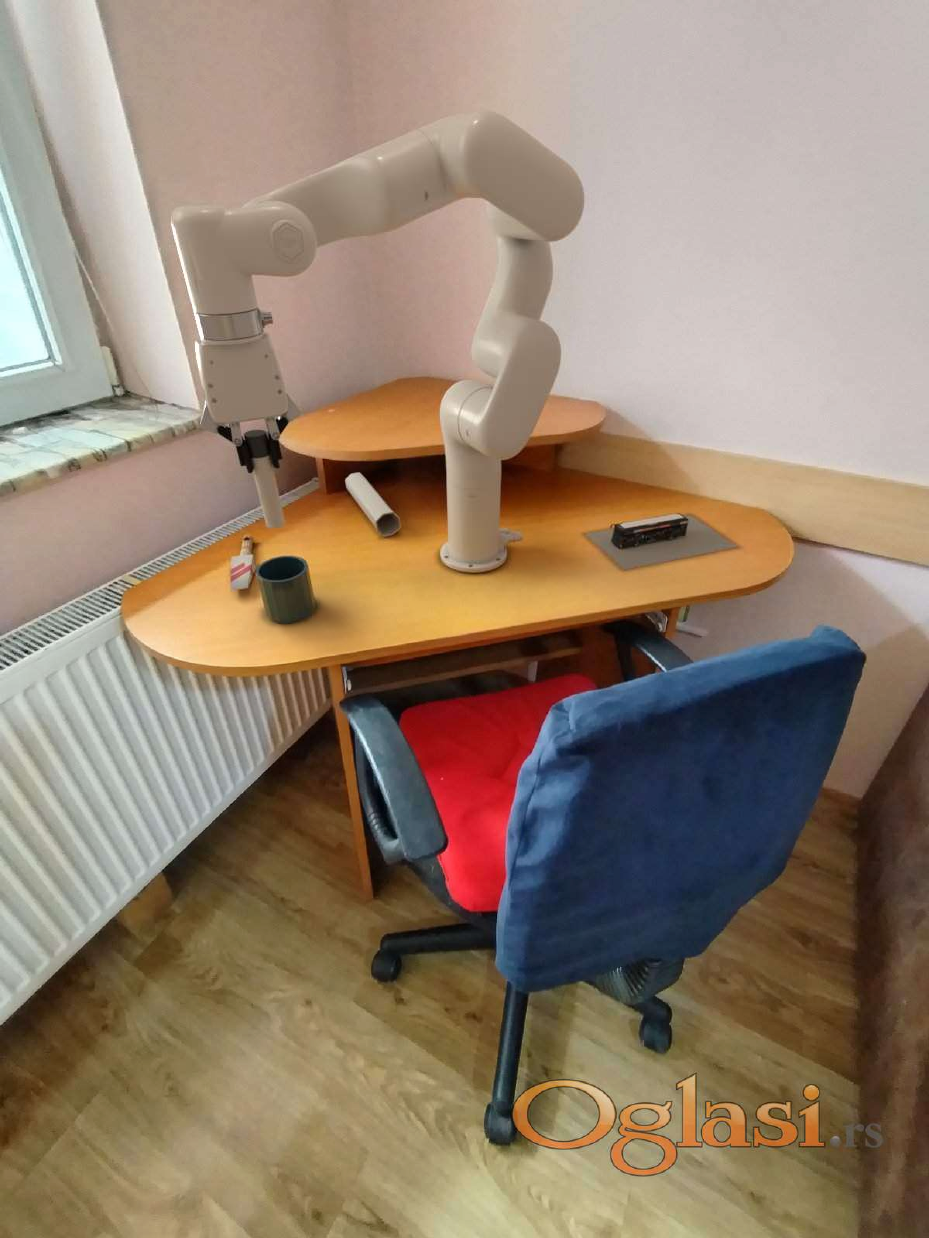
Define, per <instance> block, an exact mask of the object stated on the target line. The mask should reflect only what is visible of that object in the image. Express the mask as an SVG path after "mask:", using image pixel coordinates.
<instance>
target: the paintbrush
mask: <svg viewBox="0 0 929 1238" xmlns="http://www.w3.org/2000/svg"><path fill="white" fill-rule="evenodd" d="M241 542H242V543H241V548H240V553H239V555H236V556H235V555H233V556H231V557H230V591H235V590H243V589H248V588H249V586H250V583H251V582H252V579H253V576H254V574H255V573H256V572H255V571H256V569H257V565H256V563H255V559H254V554H252V549H253V544H254V543H253V542H254V537H253V536H252V535H251V534H245V535H243V537H242V541H241Z"/></svg>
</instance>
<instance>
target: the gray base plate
mask: <svg viewBox="0 0 929 1238" xmlns="http://www.w3.org/2000/svg"><path fill="white" fill-rule="evenodd" d="M613 526H614V527H613ZM609 528H611V529H606V530H602V531H596V532H590V533H586V534H585V535H586V536H587V537H588V538H589V539H591V540H592V541H593V542H594V543H595V544H596V545H597V546H598V548H600V549H601V550H602V551H603V552H605V554H606V555H608V556H609V557H610V558H611V559H612V560H613V561H614V562H615V563H616V564H617V565H618V566H620V567H621V569H622V570H630V569H635V568H636V569H637V568H640V567H645V566H651V565H655V564H660V563H664V562H670V561H671V562H672V561H675V560H680V559H685V558H690V557H695V556H700V555H705V554H710V553H714V552H715V553H716V552H719V551H725V550H730V549H735V548H738V546H737V545H736V544H734V543H733V542H731V540H728V539H727V538H725V537H724V536H723V535H721V534H720V533H719V532H717V531H716V530H714V529H712V528H711V527H709V526H708V525H707V524H705V523H704V522H702V521H701V520H699V518H697V517H695V516H694V515H692V514H691V515H683V513H682V514H681V513H680V512H676V513H670V514H665V515H659V516H653V517H649V518H641V519H636V520H631V521H624V522H620V523H611V524H610V527H609Z"/></svg>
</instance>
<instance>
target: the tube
mask: <svg viewBox="0 0 929 1238" xmlns="http://www.w3.org/2000/svg"><path fill="white" fill-rule="evenodd" d="M344 482H345V488H346V490H347V491H348V492H349V493H350V495H351V496H352V497H353V499H354V500H355V502H356V503H357V504H358V506H359V507H360V509H361V510H362V511H363V512H364V514H365V515H366V517H367V519H369V522H371V523H372V525H373V527H374V528H375V531H376V532H377V533H378V534H379V535H380V536H381V537H383V538H386V537H391V536H394V535H395V534H396V533H397V532H398V531H399V530H400V529H401V527H402V525H401V518H400V517H399V515H398V514H397V513H395V511H394V510H393V509H392V508H391V507H390V506H389V505H388V503H387V502H386V501H385V500H384V499H383V497H381V495H380V494H379V493H378V491H377V490H376V489H375V488H374V486H373V485H372V484H371V483H370V482H369V480H368V479H367V478H366V477H365V476H364V475H363V474H362V473H361V472H359V471H358V472H353V473H350V474H349V475H348V476H347V477H346V478H345V480H344Z"/></svg>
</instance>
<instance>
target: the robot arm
mask: <svg viewBox="0 0 929 1238" xmlns="http://www.w3.org/2000/svg"><path fill="white" fill-rule="evenodd" d="M468 198H469V199H483V200H484V201H485V203H484V205H485V213H486V216H487V220H488V222H489V225H490V227H491V229H492V232H493V235H494V238H495V242H496V246H497V247H496V248H497V255H498V256H497V259H498V260H497V261H498V262H497V263H498V264H497V270H496V273H495V277H494V280H493V284H492V286H491V290H490V292H489V294H488V297H487V300H486V303H485V306H484V308H483V311H482V314H481V317H480V319H479V322H478V324H477V327H476V330H475V332H474V335H473V338H472V341H471V346H470V347H471V348H470V355H471V359H472V362H473V363H474V365H475V366H476V367H477V369H479V370H480V371H481V372H483V373H484V374H486V375H488V376H490V377H492V378H494V379H496V380H495V382H494V385H493V386H492V385H489V384H487V383H485V382H482V381H479V380H476V379H463V380H460V381H457V382H455V383H454V384H452V385H450V386H449V388H448V389H447V390H446V391H445V393H444V395H443V397H442V399H441V402H440V405H439V406H440V407H439V425H440V431H441V436H442V440H443V446H444V454H445V470H446V471H445V472H446V510H447V512H446V513H447V541H446V542H445V543H443V545H441V547H440V550H439V554H440V555H439V558H440V560H441V562H442V563H443V564H444V565H445V566H446V567H448V568H450V569H452V570H455V571H458V572H461V573H468V574H469V573H470V574H474V573H486V572H490V571H493V570H496V569H497V568H499V567H500V566H502V565H504V563H505V562H506V560H507V557H508V550H507V546H508V545H509V544H510V543H518V542H521V541H523V537H524V536H523V532H522V531H521V530H517V531H511V529H510V528H509V527H506V528H501V529H500V527H501V525H500V524H501V523H500V522H501V490H502V489H501V488H502V461H507V460H510V459H512V458H514V457H515V456H517V455H518V454H519V453H521V452H522V450H523V449H524V448H525V446H526V445H527V443H528V442H529V440H530V438H531V437H532V434H533V433H534V430H535V428H536V426H537V424H538V421H539V419H540V417H541V415H542V412H543V410H544V408H545V405H546V403H547V401H548V398H549V396H550V394H551V392H552V389H553V386H554V384H555V382H556V379H557V377H558V373H559V371H560V368H561V367H560V366H561V360H562V345H561V341H560V337H559V336H558V334H557V332H556V330H554V328H553V327H552V326H551V325H549V324H548V323H546V322H544V321H543V320H541V318H542V315H543V313H544V310H545V306H546V303H547V301H548V298H549V295H550V292H551V289H552V284H553V277H554V262H553V255H552V249H551V245H550V243H551V242H552V243H553V242H558V241H560V240H563V239H565V238H566V237H568V236H570V235H571V234H572V233H573V232H574V231H575V229H576V228H577V226H579V223H580V221H581V219H582V216H583V213H584V208H585V190H584V187H583V184H582V181H581V179H580V176H579V174H578V173H577V172H576V171H575V169H574V168H573V167H572V165H570V164H569V163H568V162H567V161H565V160H564V159H563V158H562V157H560V156H559V155H558V154H557V153H555V152H554V151H553V150H551V149H549V148H548V147H547V146H546V145H544V144H543V143H542V142H540V141H539V140H538V139H536V138H535V137H534V136H533V135H531V134H530V133H529V132H528V131H526V130H524V129H523V128H522V127H520V125H518V124H516V123H515V122H513V121H512V120H511V119H509V118H508V117H506V116H504V115H502V114H500V113H499V112H495V111H492V110H491V109H481V110H475V111H469V112H463V113H457V114H453V115H448V116H445V117H443V118H439V119H438V120H436V121H433V122H431V123H428V124H426V125H424V126H422V127H419V128H417V129H414V130H412V131H410V132H407V133H404V134H403V135H401V136H398V137H396V138H394V139H391V140H390V141H386V142H384V143H382V144H380V145H377V146H375V147H372V148H370V149H367V150H364V151H362V152H361V153H357V154H355V155H353V156H351V157H348V158H346V159H344V160H342V161H340V162H338V163H336V164H334V165H332V166H330V167H328V168H325V169H323V170H320V171H318V172H316V173H313V174H310V175H308V176H305V177H303V178H301V179H298V180H295V181H293V182H290V183H288V184H286V185H284V186H280V187H279V188H277V189H276V188H275V189H274V190H272V191H269V192H266V193H265V194H262V195H259V196H258V197H255V198H254V199H251V200H249V201H248V202H246V203H244V204H243V206H241V207H233V208H232V207H231V206H228V205H223V204H195V205H182V206H178V207H176V208H174V209H173V210H172V212H171V214H170V224H171V229H172V233H173V237H174V241H175V245H176V248H177V253H178V256H179V260H180V264H181V267H182V272H183V276H184V279H185V283H186V287H187V291H188V295H189V298H190V302H191V305H192V310H193V314H194V318H195V322H196V325H197V329H198V333H199V337H200V338H197V339H195V340H194V345H195V346H194V348H195V357H196V363H197V368H198V369H197V370H198V374H199V378H200V384H201V387H202V392H203V396H204V401H205V402H204V405H203V409H202V413H201V416H200V421H199V425H200V428H201V429H202V430H204V431H207V432H210V433H213V434H218V435H219V436H221V437H222V438H224V439H225V440H227V441H229V442H230V443H232V444H233V445H234V447H235V450H236V453H237V458H238V462H239V465H240V467H245V469H246V471H247V474H253V467H252V463H251V459H250V455H249V451H248V447H247V444H246V443H245V439H244V435H242V429H241V423H244V422H250V421H257V420H264V423H265V426H266V428H267V431H266V434H267V439H268V444H269V448H270V456H271V460H272V465H273V469H275V470H276V469H280V468H281V467H280V462H279V461H282V460H283V455H282V449H281V445H280V441H279V440H280V438H281V435H282V434H283V432H284V431H285V429H286V428H287V427H288V426H289V424H290V423H291V422H293V421H294V420H295V419H296V418H298V417H299V416H300V415H301V410H300V409H299V407H298V406H297V404H295V401H293V400H292V398H291V397H290V396H289V394H288V393H287V391H286V386H285V383H284V379H283V374H282V370H281V367H280V364H279V360H278V358H277V354H276V351H275V348H274V345H273V342H272V339H271V337H270V335H269V333H268V332H264V329H265V326H268V325H273V324H274V319H273V315H272V312H271V311H267V312H265V311H264V310H261V309H260V308H259V305H258V299H257V295H256V290H255V285H254V280H253V276H266V277H280V278H289V277H295V276H298V275H300V274H302V273H304V272H305V271H307V270H308V269H309V268H310V266H311V265H312V264H313V262H314V260H315V258H316V255H317V249H318V248H320V247H323V246H325V245H329V244H331V243H335V242H337V241H342V240H345V239H351V238H359V237H371V236H377V235H381V234H386V233H389V232H392V231H395V230H397V229H400V228H402V227H404V226H407V224H408V225H409V224H410V223H413V222H414V221H416V220H417V219H420V218H422V217H425V216H426V215H428V214H429V215H430V214H431V213H434V212H435V211H437V210H440V209H443V208H445V207H447V206H449V205H452V204H454V203H455V202H458V201H461V200H463V199H468ZM227 424H228V425H227Z"/></svg>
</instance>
